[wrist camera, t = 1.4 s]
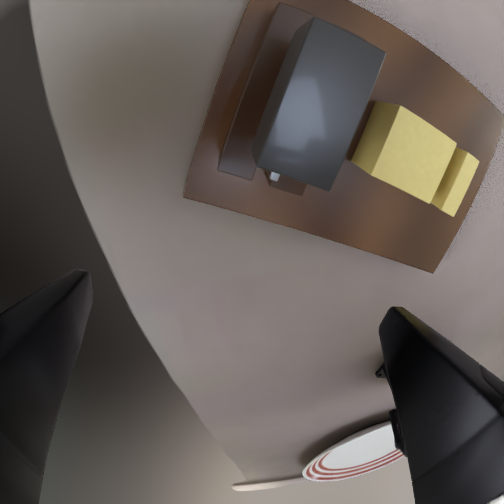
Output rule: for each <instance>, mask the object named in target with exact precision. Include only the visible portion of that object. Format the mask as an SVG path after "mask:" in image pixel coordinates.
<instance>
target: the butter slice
mask: <svg viewBox="0 0 504 504" xmlns="http://www.w3.org/2000/svg"><path fill="white" fill-rule="evenodd" d="M478 164H479V160H477V159H476V158H475V157H474V156H473V155H471V154H470V153H469V152H467V151H465V150H462V149H460V148H458V147H455V150H454V152H453V155H452V157H451V159H450V162H449V164H448V166H447V168H446V171H445V173H444V175H443V177H442V179H441V182H440V184H439V186H438V188H437V190H436V192H435V194H434V196H433V198H432V200H431V203H432V204H433V205H435V206H436V207H437V208H439V209H440V210H441V211H443V212H445V213H447V214H449V215H450V216H452V217H454V216H455V214H456V212H457V210H458V208H459V206H460V204H461V202H462V200H463V197H464V195H465V193H466V191H467V189H468V187H469V185H470V182H471V180H472V178H473V176H474V174H475V171H476V169H477V167H478Z"/></svg>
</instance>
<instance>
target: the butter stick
mask: <svg viewBox="0 0 504 504" xmlns="http://www.w3.org/2000/svg"><path fill="white" fill-rule="evenodd" d="M456 145H457V143H456V142H455V141H453V140H452V139H451V138H449V137H448V136H446V135H445V134H444V133H442V132H441V131H439V130H438V129H436V128H435V127H434V126H432V125H431V124H429V123H428V122H426V121H425V120H423V119H422V118H420V117H419V116H417V115H415V114H414V113H412V112H411V111H409V110H408V109H406V108H404V107H403V106H401V105H396V104H391V103H385V102H380V101H376V102H375V104H374V107H373V109H372V112H371V114H370V117H369V119H368V122H367V124H366V127H365V129H364V131H363V134H362V136H361V139H360V141H359V143H358V146H357V148H356V150H355V153H354V155H353V157H352V160H351V162H352V163H354V164H355V165H357V166H358V167H360V168H361V169H363V170H364V171H365V172H367V173H368V174H370V175H371V176H373V177H376V178H378V179H380V180H382V181H384V182H386V183H388V184H391V185H393V186H395V187H397V188H399V189H401V190H403V191H405V192H407V193H409V194H411V195H413V196H415V197H417V198H419V199H421V200H423V201H425V202H426V203H428V204H430V202H431V200H432V198H433V196H434V194H435V192H436V190H437V188H438V186H439V184H440V182H441V179H442V177H443V175H444V173H445V171H446V168H447V166H448V164H449V162H450V159H451V157H452V155H453V152H454V150H455V147H456Z"/></svg>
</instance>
